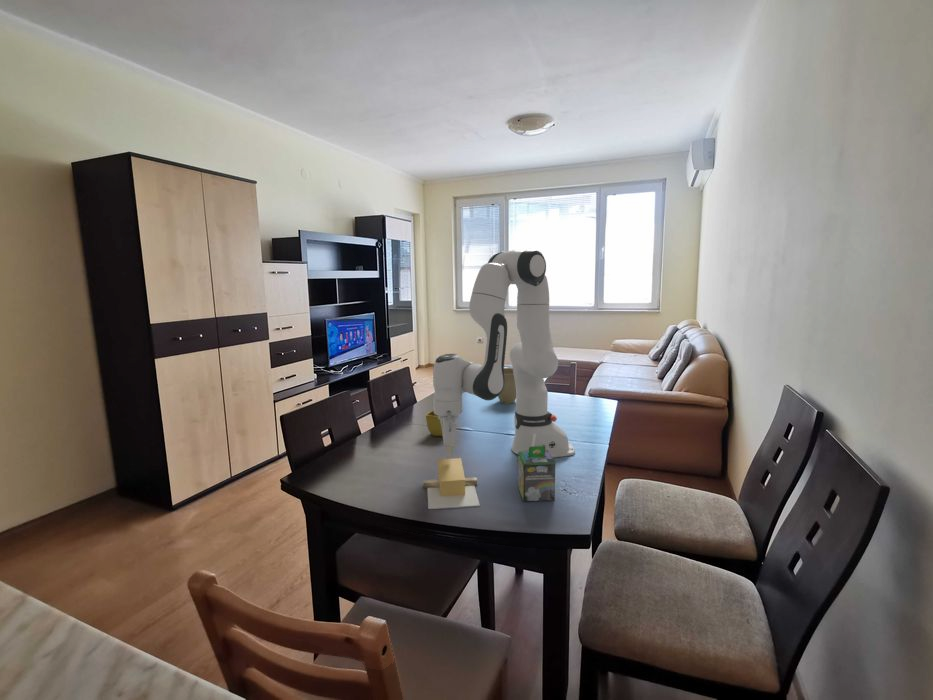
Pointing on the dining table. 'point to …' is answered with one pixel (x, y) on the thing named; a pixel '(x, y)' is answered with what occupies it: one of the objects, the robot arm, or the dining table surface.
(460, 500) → the felt mat
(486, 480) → the dining table surface
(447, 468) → the ochre block
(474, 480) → the beech kerb
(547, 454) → the chalk box
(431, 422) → the flower pot
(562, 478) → the dining table surface
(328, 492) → the dining table surface
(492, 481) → the dining table surface
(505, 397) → the plant pot
